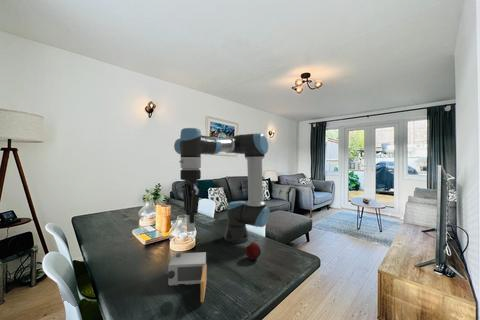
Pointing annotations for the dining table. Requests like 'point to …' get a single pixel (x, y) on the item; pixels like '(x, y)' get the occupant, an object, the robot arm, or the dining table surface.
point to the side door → (203, 282)
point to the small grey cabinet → (186, 268)
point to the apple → (253, 251)
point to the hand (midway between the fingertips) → (190, 230)
